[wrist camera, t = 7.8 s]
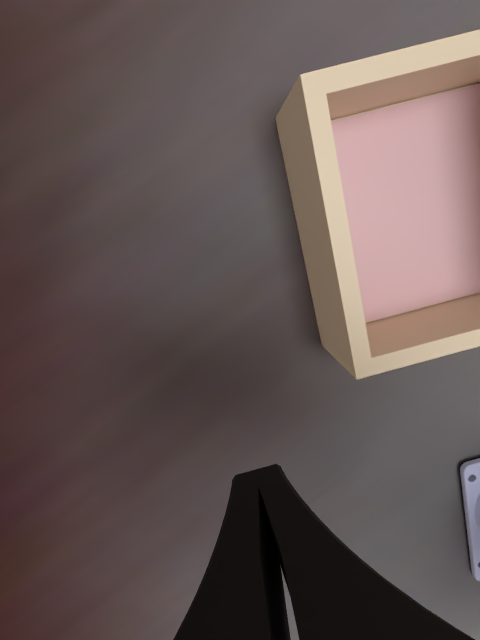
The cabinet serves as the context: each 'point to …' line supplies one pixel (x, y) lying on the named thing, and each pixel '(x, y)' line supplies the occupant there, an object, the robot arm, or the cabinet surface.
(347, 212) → the box
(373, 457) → the cabinet surface
